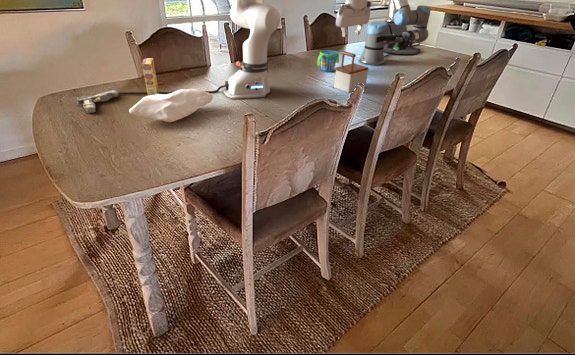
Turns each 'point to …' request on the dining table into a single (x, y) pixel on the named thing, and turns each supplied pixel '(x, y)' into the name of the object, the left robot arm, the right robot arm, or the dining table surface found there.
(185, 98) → the crumpled cloth
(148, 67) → the candy box
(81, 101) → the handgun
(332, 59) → the snack cup
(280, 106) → the dining table surface
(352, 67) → the lid
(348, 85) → the chest
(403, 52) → the grey round tray
